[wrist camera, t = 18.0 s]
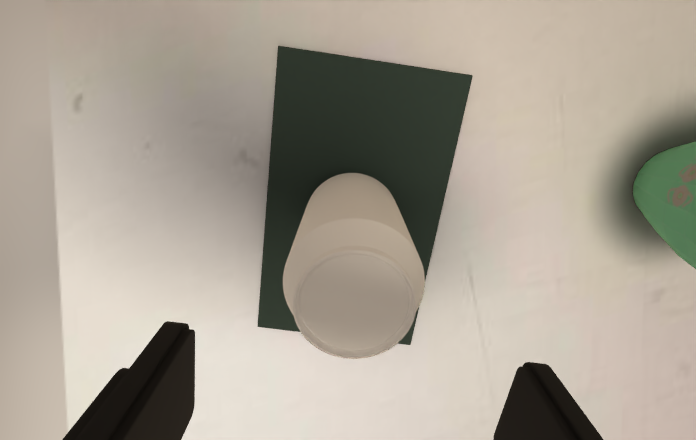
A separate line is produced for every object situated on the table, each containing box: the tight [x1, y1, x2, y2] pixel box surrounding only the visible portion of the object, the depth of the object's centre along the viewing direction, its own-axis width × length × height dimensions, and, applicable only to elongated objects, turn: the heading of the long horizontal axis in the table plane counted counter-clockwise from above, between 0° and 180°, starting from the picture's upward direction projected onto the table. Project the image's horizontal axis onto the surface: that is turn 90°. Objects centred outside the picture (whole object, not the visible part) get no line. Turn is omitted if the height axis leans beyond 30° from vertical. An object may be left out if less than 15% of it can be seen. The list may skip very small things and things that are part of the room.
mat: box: [258, 46, 472, 345], centre depth 26 cm, size 20×12×1 cm, turn 172°
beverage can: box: [283, 173, 425, 359], centre depth 20 cm, size 6×6×12 cm
